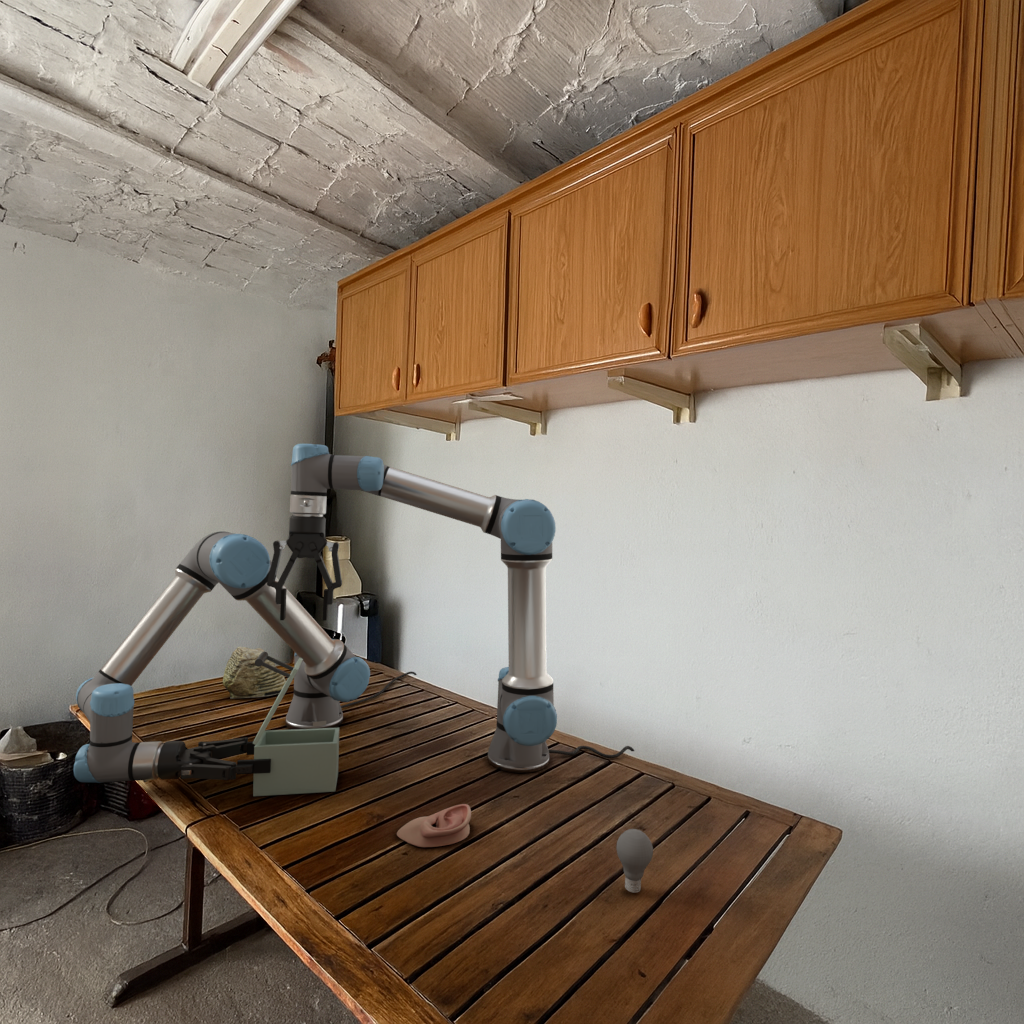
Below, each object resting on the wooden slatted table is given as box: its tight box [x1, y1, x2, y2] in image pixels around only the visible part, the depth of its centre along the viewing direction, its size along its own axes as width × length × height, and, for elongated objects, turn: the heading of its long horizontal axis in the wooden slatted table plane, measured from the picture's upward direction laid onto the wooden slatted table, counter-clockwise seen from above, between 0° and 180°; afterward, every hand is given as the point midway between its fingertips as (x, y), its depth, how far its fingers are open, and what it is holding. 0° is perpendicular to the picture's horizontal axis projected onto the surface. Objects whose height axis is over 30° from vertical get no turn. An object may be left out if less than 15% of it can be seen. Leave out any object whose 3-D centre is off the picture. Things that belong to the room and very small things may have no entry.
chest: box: [252, 727, 340, 797], centre depth 139 cm, size 17×9×10 cm, turn 102°
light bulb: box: [615, 828, 654, 894], centre depth 106 cm, size 6×6×10 cm
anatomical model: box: [396, 803, 472, 848], centre depth 121 cm, size 13×4×12 cm
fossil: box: [222, 646, 287, 699], centre depth 198 cm, size 9×18×15 cm, turn 132°
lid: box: [252, 651, 303, 745], centre depth 137 cm, size 18×9×9 cm
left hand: (274, 756), depth 138 cm, fingers closed on chest, 9 cm apart
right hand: (304, 619), depth 138 cm, fingers open, 8 cm apart
